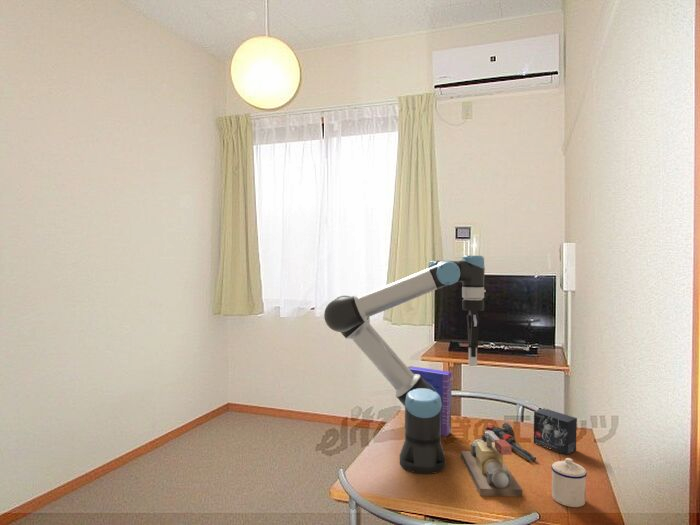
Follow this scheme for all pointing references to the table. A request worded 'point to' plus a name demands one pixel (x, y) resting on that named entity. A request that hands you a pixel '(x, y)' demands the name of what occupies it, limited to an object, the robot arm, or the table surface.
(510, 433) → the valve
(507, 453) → the valve lever
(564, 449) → the small box
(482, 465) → the valve stand
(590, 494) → the table surface
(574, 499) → the white lidded jar
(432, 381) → the cereal box
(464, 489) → the table surface
